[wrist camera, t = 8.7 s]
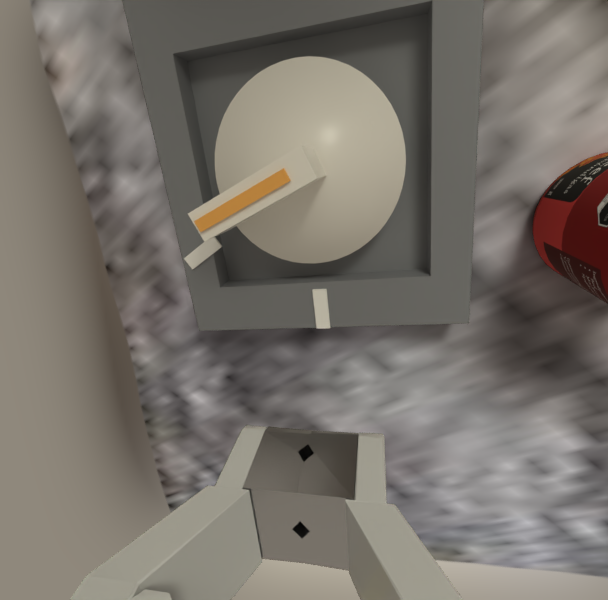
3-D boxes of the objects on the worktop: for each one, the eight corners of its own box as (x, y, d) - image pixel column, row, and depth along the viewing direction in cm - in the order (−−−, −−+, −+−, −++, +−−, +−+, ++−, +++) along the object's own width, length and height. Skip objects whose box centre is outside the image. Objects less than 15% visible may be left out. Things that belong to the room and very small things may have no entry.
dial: (353, 20, 21) (345, -33, 15) (432, 208, 24) (451, 223, 18) (188, 135, 25) (133, 127, 19) (273, 284, 28) (247, 316, 22)
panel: (149, 11, 24) (117, -10, 21) (472, -65, 20) (489, -104, 17) (214, 315, 31) (198, 331, 28) (459, 306, 27) (469, 324, 24)
